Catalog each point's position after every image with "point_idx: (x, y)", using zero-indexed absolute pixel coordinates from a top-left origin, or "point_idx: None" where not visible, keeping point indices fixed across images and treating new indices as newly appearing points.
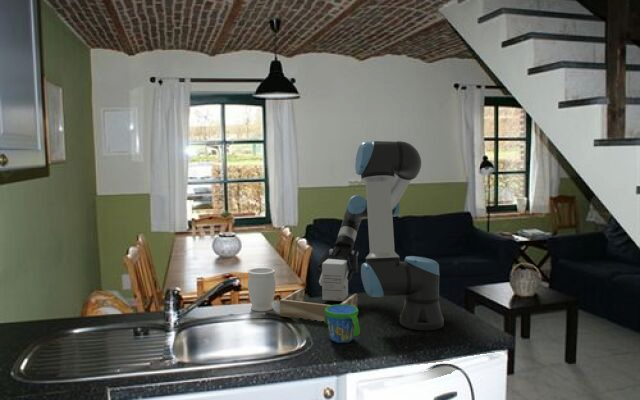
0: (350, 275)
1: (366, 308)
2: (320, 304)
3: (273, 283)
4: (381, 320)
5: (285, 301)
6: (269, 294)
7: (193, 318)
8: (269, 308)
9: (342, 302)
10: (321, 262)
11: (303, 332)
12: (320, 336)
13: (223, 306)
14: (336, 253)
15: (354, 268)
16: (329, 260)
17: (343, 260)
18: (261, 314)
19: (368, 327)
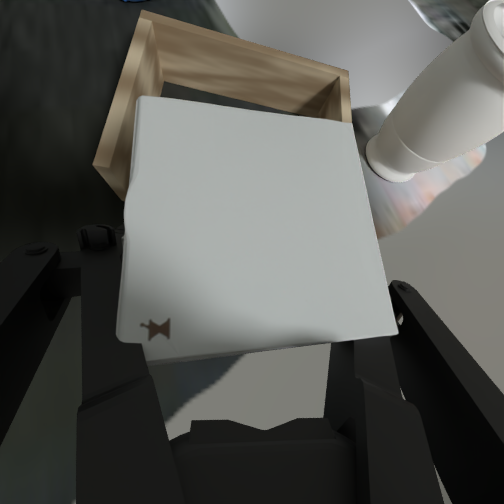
0: (115, 232)
1: (85, 216)
2: (215, 34)
3: (429, 78)
4: (18, 103)
5: (329, 67)
6: (399, 100)
7: None
8: (369, 143)
9: (142, 51)
10: (414, 310)
11: (228, 25)
12: (183, 5)
13: (467, 162)
14: (366, 465)
15: (42, 245)
16: (341, 241)
17: (172, 294)
18: (366, 120)
19: (64, 50)
